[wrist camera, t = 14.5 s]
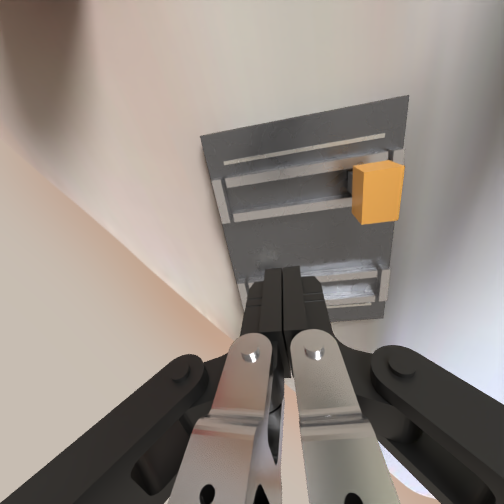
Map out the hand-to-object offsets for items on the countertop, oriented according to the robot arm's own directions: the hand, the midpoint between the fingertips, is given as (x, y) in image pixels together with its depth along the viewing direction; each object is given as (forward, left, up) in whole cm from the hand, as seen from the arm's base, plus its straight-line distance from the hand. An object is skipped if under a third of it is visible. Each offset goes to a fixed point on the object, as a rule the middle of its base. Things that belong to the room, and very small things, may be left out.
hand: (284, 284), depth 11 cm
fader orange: (-7, -1, -13) cm, 14 cm away
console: (-2, +5, -14) cm, 15 cm away
